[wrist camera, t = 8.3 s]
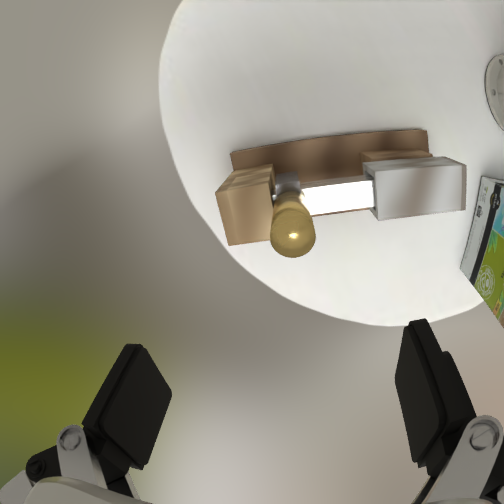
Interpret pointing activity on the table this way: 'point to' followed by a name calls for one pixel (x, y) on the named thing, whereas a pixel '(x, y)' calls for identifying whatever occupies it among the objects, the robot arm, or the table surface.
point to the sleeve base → (372, 169)
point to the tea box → (488, 247)
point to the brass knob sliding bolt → (312, 207)
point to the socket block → (247, 204)
